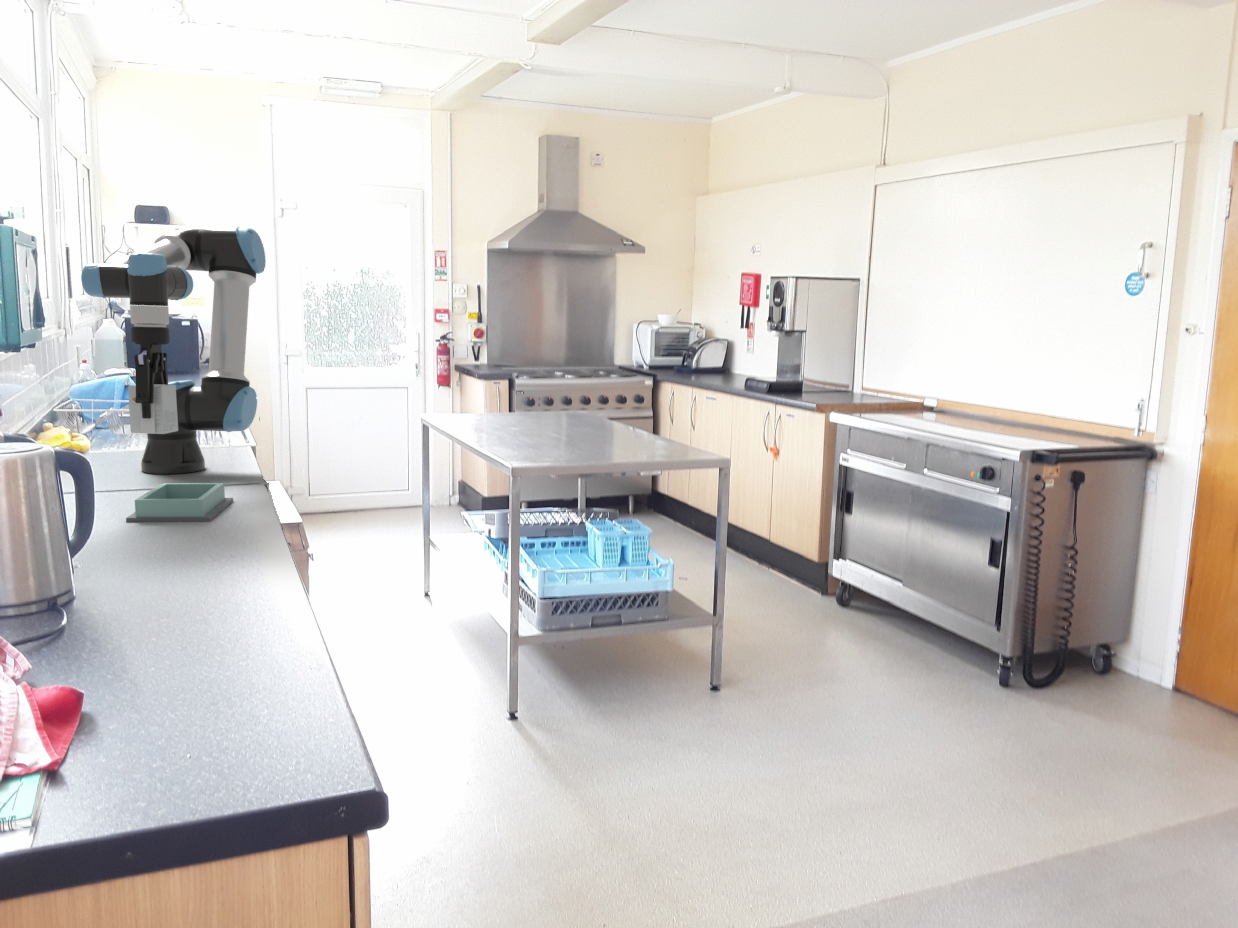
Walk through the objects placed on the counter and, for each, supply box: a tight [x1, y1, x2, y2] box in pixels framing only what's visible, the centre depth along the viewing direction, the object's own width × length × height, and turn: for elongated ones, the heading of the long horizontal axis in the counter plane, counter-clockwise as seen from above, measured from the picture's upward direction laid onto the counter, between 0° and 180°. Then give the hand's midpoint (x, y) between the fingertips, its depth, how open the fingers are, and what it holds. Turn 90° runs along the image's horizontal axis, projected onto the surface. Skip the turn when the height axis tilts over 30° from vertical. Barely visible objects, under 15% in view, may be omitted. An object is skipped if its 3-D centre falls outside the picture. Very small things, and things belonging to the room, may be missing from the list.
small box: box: [127, 384, 178, 434], centre depth 208 cm, size 8×6×10 cm
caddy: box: [125, 482, 234, 523], centre depth 201 cm, size 20×16×4 cm
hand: (154, 431), depth 209 cm, fingers closed on small box, 6 cm apart
